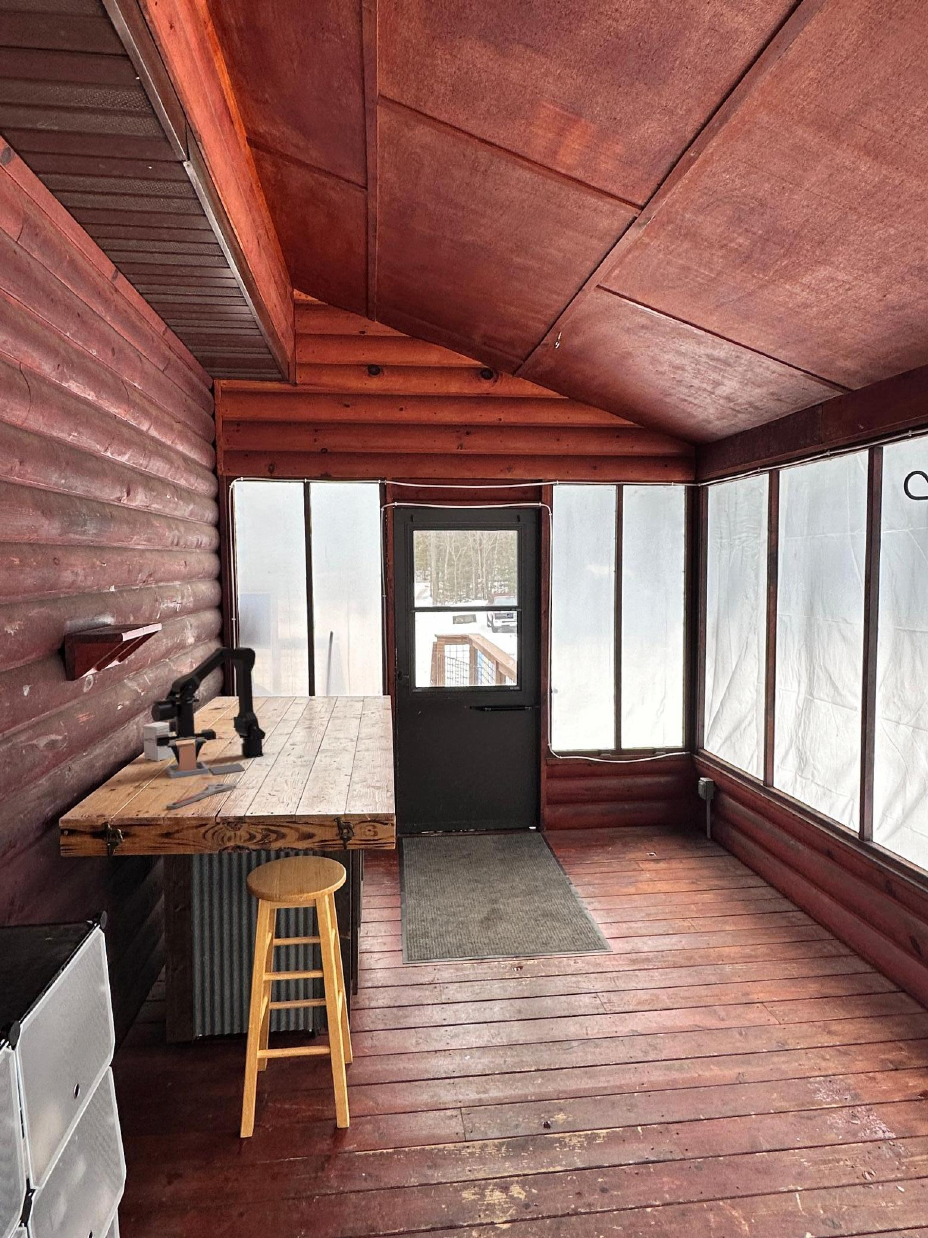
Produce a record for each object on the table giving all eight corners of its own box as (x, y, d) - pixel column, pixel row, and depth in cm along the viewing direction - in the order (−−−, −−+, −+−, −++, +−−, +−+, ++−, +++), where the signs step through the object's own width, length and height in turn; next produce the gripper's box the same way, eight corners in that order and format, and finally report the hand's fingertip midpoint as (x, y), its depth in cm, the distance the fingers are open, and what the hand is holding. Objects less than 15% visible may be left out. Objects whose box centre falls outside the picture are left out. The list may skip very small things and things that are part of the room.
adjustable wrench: (153, 808, 209) (152, 801, 209) (225, 783, 232) (224, 777, 231) (172, 813, 205) (171, 805, 205) (243, 787, 227) (243, 781, 227)
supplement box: (143, 759, 263) (142, 725, 262) (160, 755, 270) (159, 721, 269) (157, 762, 260) (156, 726, 259) (174, 757, 266) (173, 722, 266)
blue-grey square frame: (202, 765, 254) (202, 761, 254) (208, 773, 244) (208, 768, 243) (166, 770, 248) (166, 766, 248) (171, 778, 238) (171, 773, 238)
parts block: (194, 769, 249) (192, 742, 249) (196, 772, 245) (195, 745, 244) (178, 771, 247) (177, 744, 246) (180, 774, 242) (179, 747, 242)
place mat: (239, 764, 254) (239, 763, 254) (245, 770, 245) (245, 769, 245) (209, 768, 249) (209, 767, 249) (214, 775, 240) (214, 774, 240)
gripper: (209, 710, 256) (211, 754, 257) (152, 716, 247) (154, 761, 248) (215, 715, 246) (217, 760, 247) (155, 721, 237) (158, 769, 238)
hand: (187, 762), depth 246 cm, fingers closed on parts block, 5 cm apart
